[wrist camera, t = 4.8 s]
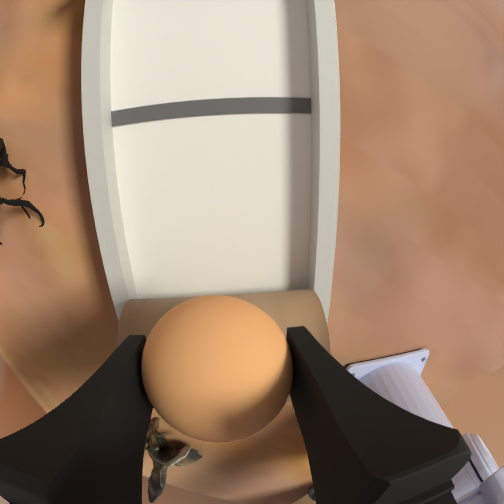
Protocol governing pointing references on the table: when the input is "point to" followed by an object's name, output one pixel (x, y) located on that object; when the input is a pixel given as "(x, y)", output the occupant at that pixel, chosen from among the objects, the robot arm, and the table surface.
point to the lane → (212, 145)
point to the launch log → (272, 303)
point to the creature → (2, 160)
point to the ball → (217, 368)
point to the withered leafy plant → (164, 459)
